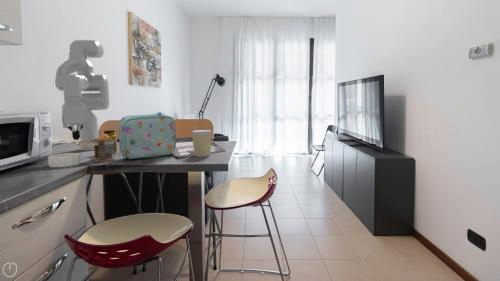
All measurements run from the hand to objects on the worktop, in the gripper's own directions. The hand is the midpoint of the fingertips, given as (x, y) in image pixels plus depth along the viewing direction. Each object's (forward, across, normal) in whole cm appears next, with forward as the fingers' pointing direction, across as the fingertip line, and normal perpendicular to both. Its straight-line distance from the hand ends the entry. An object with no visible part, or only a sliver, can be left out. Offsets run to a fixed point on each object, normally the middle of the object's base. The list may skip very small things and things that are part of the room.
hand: (76, 139), depth 171 cm
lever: (+6, -6, +5) cm, 10 cm away
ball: (+1, -10, +11) cm, 15 cm away
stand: (+10, -8, +11) cm, 17 cm away
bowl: (+10, +8, +11) cm, 16 cm away
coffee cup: (+10, -48, +35) cm, 60 cm away
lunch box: (+10, -28, +19) cm, 35 cm away
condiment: (+10, -17, -8) cm, 21 cm away
